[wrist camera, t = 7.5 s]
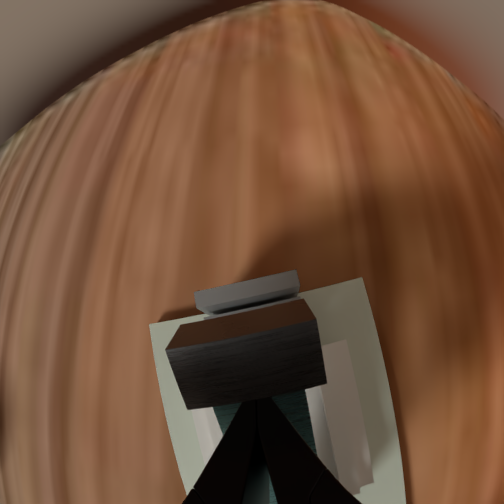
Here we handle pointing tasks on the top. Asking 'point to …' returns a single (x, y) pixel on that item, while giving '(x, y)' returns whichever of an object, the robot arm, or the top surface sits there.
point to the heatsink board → (368, 375)
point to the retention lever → (251, 363)
